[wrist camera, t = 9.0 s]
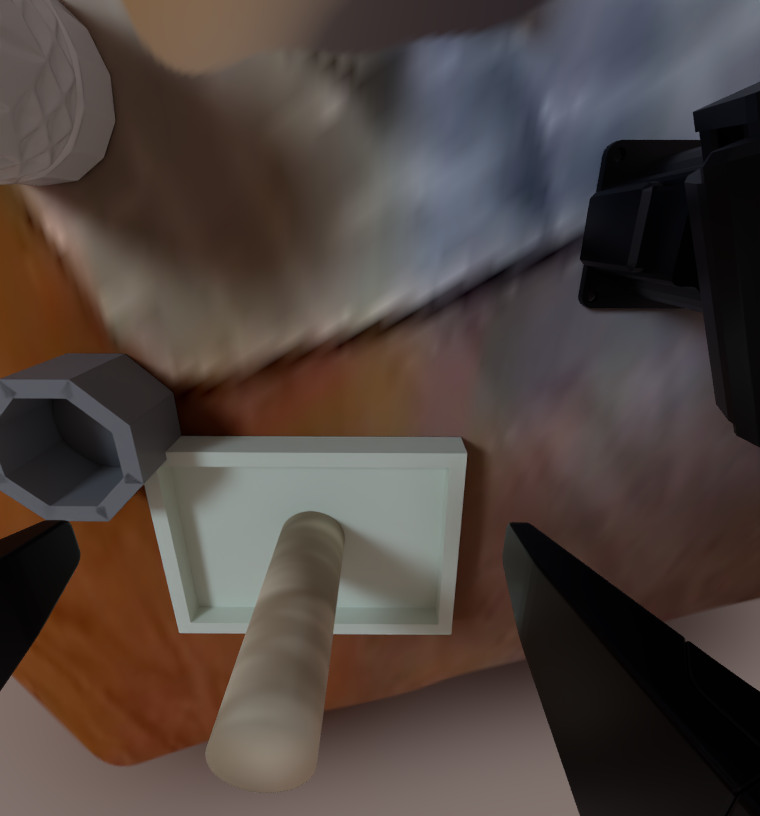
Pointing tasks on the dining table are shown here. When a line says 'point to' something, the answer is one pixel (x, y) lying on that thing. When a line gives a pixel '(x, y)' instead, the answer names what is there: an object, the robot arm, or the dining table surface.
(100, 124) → the white cup
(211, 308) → the dining table surface
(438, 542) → the tray
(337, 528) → the pin
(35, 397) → the pen cup
